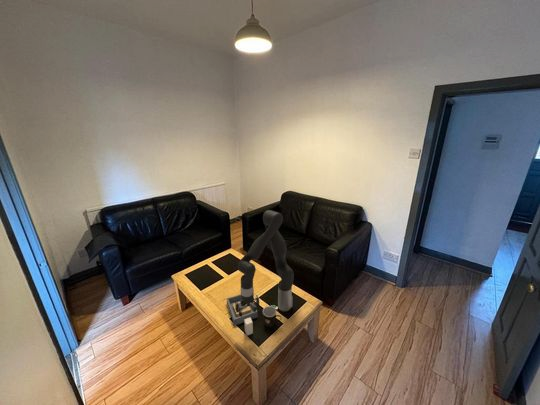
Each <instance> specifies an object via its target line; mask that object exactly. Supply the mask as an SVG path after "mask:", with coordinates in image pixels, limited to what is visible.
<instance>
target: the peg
mask: <svg viewBox="0 0 540 405" xmlns="http://www.w3.org/2000/svg"><path fill="white" fill-rule="evenodd" d="M243 323H244V332H245V335H246V336H250V335H252V334H254V332H253V331H254V328H253V327H254V325H253V323H254V322H253V319H251V318H247V319H244V322H243Z"/></svg>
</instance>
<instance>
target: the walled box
mask: <svg viewBox="0 0 540 405" xmlns="http://www.w3.org/2000/svg"><path fill="white" fill-rule="evenodd" d="M236 301H237V302H240V301H241V293H240V294H237V295H233V296H230V297H227V298H226V304H227V307H228V311H229V314H230V317H231V320H232V323H233V326H238V325H240V324H242V323H244V319H247V318H251V320H253V319H257V318H258V317H259V316H258V315H259V314H258V310H257V309H256V311H255V312H254V311H253V306H252V305H250V306H248V307H245V308H244V310H242V317H241V316H239V312H238V313H237V312H236V310H235V303H236ZM240 305H241V304H240ZM240 305H239V307H240Z"/></svg>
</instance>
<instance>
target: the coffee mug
mask: <svg viewBox="0 0 540 405" xmlns="http://www.w3.org/2000/svg"><path fill="white" fill-rule="evenodd" d="M262 316H263V321H264V326H265V327H266V328H273V327H274V326H275V323H276V322H281V321H282V316H281V315H279V314H277V310H276V307H274V306H272V305H268V306H265V307H264V308H263V309H262ZM277 317H279V318H280V319H278V320H276V318H277Z"/></svg>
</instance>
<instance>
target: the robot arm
mask: <svg viewBox="0 0 540 405" xmlns="http://www.w3.org/2000/svg"><path fill="white" fill-rule="evenodd" d="M262 220H263V221H262V222H263V225H264V228H265V231H264V232H263V233H262V234H261V235H259V236H258V237H257V238H256V239H255V240H254V241H253V242H252V245H250V248H249V250H248V251H247V252H246V254H245V255H243V257H241V259H240V260H239V261H238V262H237V270H238V272H240V273H242V274H243V275H241V277H240V294H241V301H240V302H237V301H236V303H235V310H236V312H237V313H238V312H239V316H241V317H242V310H244V308H245V307H248V306H250V305H252V306H253V311H254V312H255V311H256V310H257V307H259V306H260V298H259V295H255V296H254V293H255V292H254V291H255V290H254V277H255V274H256V270H257V268H256V266H255V264H254V263H253V262H251V261H252V260H255V261H257V260H259V258H260V257H261V255H262V253H263V252H264V249H265V247H266V246H267V244H269V243H270V247H271V252H272V254H273V259H274V261H275V268H276V274H277V275H278V277H279V278H280V281H279V282H278V286H277V288H278V290H277V292H278V293H277V294H278V295H277V306H278V307H277V308H278V309H279V310H280V311H281V312H288V311H290V310H291V308H293V298H294V297H293V295H292V292H293V290H292V286H293V284H294V277H295V274H294V273H295V272H294V270H293V269H292V268H291V267H290V266H289V265H288V263H287V259H286V254H287V252H288V251H287V246H286V245H287V244H286V241H285V238H283V235H281V233H280V231H279V229H280V228H281V225H282V223H283V222H284V216H283V214H282V213H280V212H277V211H274V210H270V209H267V210H266V211H265V210H264V212H263V215H262ZM254 301H255V302H254ZM240 304H241V305H240ZM239 305H240V307H239Z"/></svg>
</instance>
